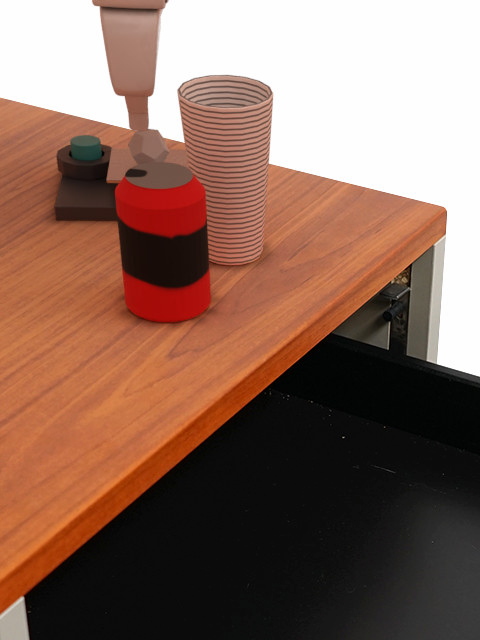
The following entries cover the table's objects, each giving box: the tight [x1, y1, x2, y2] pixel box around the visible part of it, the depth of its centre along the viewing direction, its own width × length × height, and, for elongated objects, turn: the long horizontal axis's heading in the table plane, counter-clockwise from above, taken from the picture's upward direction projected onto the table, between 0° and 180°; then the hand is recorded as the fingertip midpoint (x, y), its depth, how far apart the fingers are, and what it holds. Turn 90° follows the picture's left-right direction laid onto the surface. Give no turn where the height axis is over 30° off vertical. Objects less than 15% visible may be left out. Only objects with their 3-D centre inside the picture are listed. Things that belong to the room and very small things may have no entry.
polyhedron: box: [127, 128, 169, 165], centre depth 139 cm, size 4×4×3 cm
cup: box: [176, 74, 274, 266], centre depth 129 cm, size 8×8×16 cm
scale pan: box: [106, 147, 188, 183], centre depth 140 cm, size 8×8×1 cm
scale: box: [54, 143, 119, 222], centre depth 141 cm, size 14×12×3 cm
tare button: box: [69, 134, 102, 161], centre depth 142 cm, size 3×3×2 cm
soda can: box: [115, 162, 212, 323], centre depth 121 cm, size 8×8×12 cm
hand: (141, 110), depth 137 cm, fingers open, 8 cm apart
